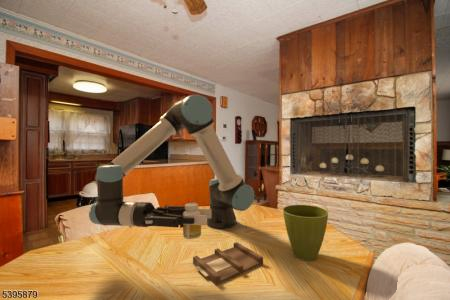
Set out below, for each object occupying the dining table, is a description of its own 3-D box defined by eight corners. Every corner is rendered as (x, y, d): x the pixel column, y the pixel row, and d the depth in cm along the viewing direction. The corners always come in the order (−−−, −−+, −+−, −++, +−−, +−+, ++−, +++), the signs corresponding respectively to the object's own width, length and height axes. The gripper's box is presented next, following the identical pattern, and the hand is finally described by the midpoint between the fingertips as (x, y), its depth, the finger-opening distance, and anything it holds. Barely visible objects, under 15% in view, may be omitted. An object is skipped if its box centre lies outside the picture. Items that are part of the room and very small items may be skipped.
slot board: (190, 264, 71) (190, 257, 71) (236, 248, 82) (236, 242, 82) (212, 286, 60) (212, 278, 59) (263, 263, 71) (263, 256, 71)
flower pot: (325, 272, 66) (325, 220, 65) (277, 259, 73) (277, 212, 73) (331, 251, 78) (330, 208, 78) (289, 242, 86) (289, 203, 86)
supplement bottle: (204, 233, 67) (203, 202, 67) (196, 240, 62) (195, 207, 62) (188, 231, 69) (188, 201, 69) (179, 238, 64) (179, 205, 64)
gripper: (153, 216, 78) (215, 219, 74) (119, 237, 60) (200, 242, 56) (152, 196, 78) (215, 197, 74) (118, 211, 60) (199, 213, 56)
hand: (208, 216), depth 65 cm, fingers closed on supplement bottle, 5 cm apart
